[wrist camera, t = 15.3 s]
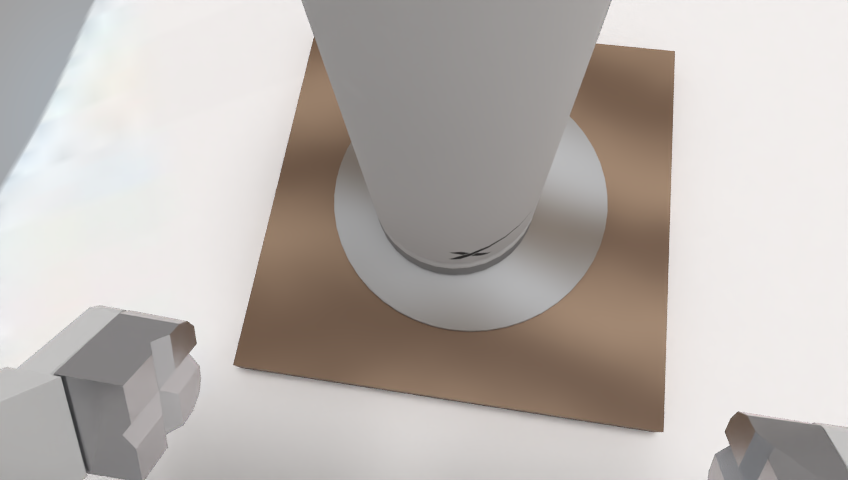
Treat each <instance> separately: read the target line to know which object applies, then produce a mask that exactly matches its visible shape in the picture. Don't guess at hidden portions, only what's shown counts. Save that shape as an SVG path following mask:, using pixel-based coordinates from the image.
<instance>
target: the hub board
mask: <svg viewBox="0 0 848 480" xmlns="http://www.w3.org/2000/svg"><path fill="white" fill-rule="evenodd" d="M674 62H675V51H666V50H656V49H646V48H636V47H625V46H615V45H605V44H595V47H594V50H593V53H592V55H591V58H590V61H589V64H588V66H587V69H586V72H585V75H584V77H583V80H582V83H581V86H580V88H579V91H578V94H577V97H576V99H575V102H574V105H573V108H572V110H571V113H570V116H569V119H568V121H567V124H566V127H565V130H564V132H563V135H562V138H561V141H560V143H559V146H558V149H557V152H556V154H555V157H554V160H553V163H552V165H551V168H550V171H549V174H548V176H547V179H546V182H545V185H544V187H543V190H542V193H541V196H540V198H539V201H538V204H537V207H536V209H535V212H534V215H533V217H532V220H531V223H530V226H529V229H528V231H527V232H526V234H525V236H524V238H523V239H522V241H521V243H520V244H519V245H518V246H517V247H516V248H515V250H514V251H513V252H512V253H511V254H510V255H508V256H507V257H506V258H504V259H503V260H502V261H500V262H499V263H498V264H495V265H493V266H491V267H489V268H487V269H485V270H482V271H478V272H474V273H471V274H461V275H448V274H440V273H435V272H432V271H429V270H426V269H423V268H421V267H419V266H417V265H415V264H413V263H412V262H410V261H408V260H407V259H406V258H405V257H403V256H402V255H401V254H400V253H399V252H398V251H396V249H395V248H394V247H393V245H392V244H391V243H390V242H389V240H388V239H387V237H386V235H385V233H384V231H383V229H382V227H381V224H380V222H379V219H378V216H377V212H376V210H375V207H374V205H373V202H372V199H371V196H370V193H369V190H368V188H367V185H366V182H365V179H364V176H363V173H362V171H361V168H360V165H359V162H358V159H357V156H356V154H355V151H354V148H353V145H352V142H351V139H350V136H349V134H348V131H347V128H346V125H345V122H344V119H343V117H342V114H341V111H340V108H339V105H338V102H337V100H336V97H335V94H334V91H333V88H332V85H331V83H330V80H329V77H328V74H327V71H326V68H325V66H324V63H323V60H322V57H321V54H320V51H319V49H318V46H317V43H316V40H315V37H314V39H313V43H312V47H311V51H310V55H309V59H308V63H307V68H306V72H305V76H304V80H303V84H302V88H301V92H300V96H299V100H298V104H297V108H296V112H295V116H294V120H293V124H292V128H291V132H290V137H289V141H288V145H287V149H286V153H285V157H284V161H283V165H282V169H281V173H280V177H279V181H278V185H277V189H276V193H275V197H274V201H273V206H272V210H271V214H270V218H269V222H268V226H267V230H266V234H265V238H264V242H263V246H262V250H261V254H260V258H259V262H258V266H257V270H256V275H255V279H254V283H253V287H252V291H251V295H250V299H249V303H248V307H247V311H246V315H245V319H244V323H243V327H242V331H241V335H240V339H239V343H238V348H237V352H236V356H235V360H234V364H233V365H235V366H238V367H241V368H247V369H254V370H260V371H266V372H273V373H279V374H286V375H292V376H299V377H305V378H311V379H318V380H324V381H331V382H337V383H343V384H350V385H356V386H363V387H369V388H376V389H382V390H388V391H395V392H401V393H408V394H414V395H420V396H427V397H433V398H440V399H446V400H453V401H459V402H465V403H472V404H478V405H485V406H491V407H497V408H504V409H510V410H517V411H523V412H530V413H536V414H542V415H549V416H555V417H562V418H568V419H575V420H581V421H587V422H594V423H600V424H607V425H613V426H619V427H626V428H632V429H639V430H645V431H652V432H663V430H664V397H665V363H666V330H667V296H668V263H669V229H670V196H671V162H672V129H673V95H674Z"/></svg>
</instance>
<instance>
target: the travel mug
mask: <svg viewBox="0 0 848 480" xmlns="http://www.w3.org/2000/svg"><path fill="white" fill-rule="evenodd" d="M611 1H612V0H302V3H303V6H304V9H305V12H306V14H307V17H308V20H309V23H310V26H311V29H312V31H313V34H314V37H315V40H316V43H317V46H318V49H319V51H320V54H321V57H322V60H323V63H324V66H325V68H326V71H327V74H328V77H329V80H330V83H331V85H332V88H333V91H334V94H335V97H336V100H337V102H338V105H339V108H340V111H341V114H342V117H343V119H344V122H345V125H346V128H347V131H348V134H349V136H350V139H351V142H352V145H353V148H354V151H355V154H356V156H357V159H358V162H359V165H360V168H361V171H362V173H363V176H364V179H365V182H366V185H367V188H368V190H369V193H370V196H371V199H372V202H373V205H374V207H375V210H376V212H377V216H378V219H379V222H380V224H381V227H382V229H383V231H384V233H385V235H386V237H387V239H388V240H389V242H390V243H391V244H392V245H393V247H394V248H395V249H396V251H398V252H399V253H400V254H401V255H402V256H403V257H405V258H406V259H407V260H408V261H410V262H412V263H413V264H415V265H417V266H419V267H421V268H423V269H426V270H429V271H432V272H435V273H440V274H448V275H461V274H471V273H474V272H478V271H482V270H485V269H487V268H489V267H491V266H493V265H495V264H498V263H499V262H500V261H502V260H503V259H504V258H506V257H507V256H508V255H510V254H511V253H512V252H513V251H514V250H515V248H516V247H517V246H518V245H519V244H520V243H521V241H522V239H523V238H524V236H525V234H526V232H527V231H528V229H529V226H530V223H531V220H532V217H533V215H534V212H535V209H536V207H537V204H538V201H539V198H540V196H541V193H542V190H543V187H544V185H545V182H546V179H547V176H548V174H549V171H550V168H551V165H552V163H553V160H554V157H555V154H556V152H557V149H558V146H559V143H560V141H561V138H562V135H563V132H564V130H565V127H566V124H567V121H568V119H569V116H570V113H571V110H572V108H573V105H574V102H575V99H576V97H577V94H578V91H579V88H580V86H581V83H582V80H583V77H584V75H585V72H586V69H587V66H588V64H589V61H590V58H591V55H592V53H593V50H594V47H595V44H596V42H597V39H598V36H599V34H600V31H601V28H602V25H603V23H604V20H605V17H606V14H607V12H608V9H609V6H610V3H611Z"/></svg>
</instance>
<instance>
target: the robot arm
mask: <svg viewBox="0 0 848 480" xmlns="http://www.w3.org/2000/svg"><path fill="white" fill-rule="evenodd" d="M196 344H197V342H196V336H195V330H194V326H193V325H192V324H190V323H189V322H188V321H184V320H178V319H173V318H168V317H162V316H157V315H152V314H146V313H141V312H136V311H130V310H129V311H126V310H122V309H117V308H111V307H106V306H100V305H99V306H95V307H90V308H88V309H87V310H86V311H85V312H84V313H83V314H81V315H80V316H79V317H78V318H77V319H75V320H74V321H73V322H72V323H71V324H69V325H68V326H67V327H66V328H65V329H63V330H62V331H61V332H60V333H59V334H57V335H56V336H55V337H54V338H53V339H51V340H50V341H49V342H48V343H47V344H46V345H44V346H43V347H42V348H41V349H40V350H38V351H37V352H36V353H35V354H34V355H32V356H31V357H30V358H29V359H28V360H26V361H25V362H24V363H23V364H22V365H20V366H19V367H18V368H17V369H15V368H9V367H6V368H3V369H0V480H83V479H84V478H86V477H87V473H88V474H94V475H100V476H107V477H113V478H119V479H125V480H145V479H146V477H147V476H148V474H149V473H150V472H151V470H152V469H153V467H154V466H155V465H156V463H157V462H158V460H159V459H160V458H161V456H162V455H163V453H164V452H165V451H166V449H167V448H168V445H167V438H166V434H168V433H170V432H171V431H173V430H175V429H177V428H179V427H181V426H183V425H184V423H185V422H186V420H187V419H188V417H189V416H190V415H191V413H192V412H193V409H194V406H195V404H196V401H197V398H198V395H199V392H200V382H201V375H200V366H199V365H198V364H197V362H196V361H195V360H194V359H193V358H192V356H191V355H190V354H189V353H190V351H191V350H192V349H193V347H194V346H195V345H196ZM725 434H726V436H727V439H728V441H729V444H730V446H728V447H726V448H725V449H723V450H721V451H720V452H718V453H716V454H715V456H714V458H713V461H712V464H711V466H710V469H709V472H708V480H848V427H842V426H835V425H828V424H821V423H808V422H802V421H795V420H789V419H783V418H776V417H770V416H764V415H757V414H751V413H745V412H737V413H736V414H735V415H734V416H733V417H732V418H731V419H730V421H729V423H728V426H727V428H726V430H725Z"/></svg>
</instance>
